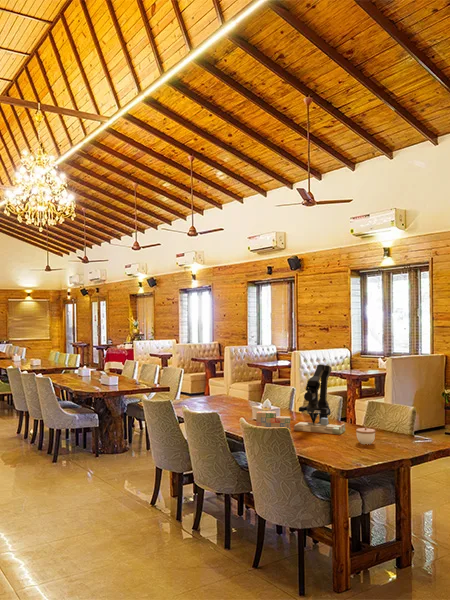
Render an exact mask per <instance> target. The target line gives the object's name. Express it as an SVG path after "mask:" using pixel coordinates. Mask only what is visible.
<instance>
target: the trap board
mask: <svg viewBox="0 0 450 600" xmlns="http://www.w3.org/2000/svg"><path fill="white" fill-rule="evenodd" d="M293 430H294V431H302V432H308V433H309V432H311V433H321V434H332V435H333V434H334V435H342V434H343V433H344V432H346V422H345V423H342V424H341V425H340V424H331V423H330V424H329V423H328V425H321V424H319V423H318V422H317V423H316V422H315V423H313V422H305V421H299V422H298V423H296V424H294V425H293Z"/></svg>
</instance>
